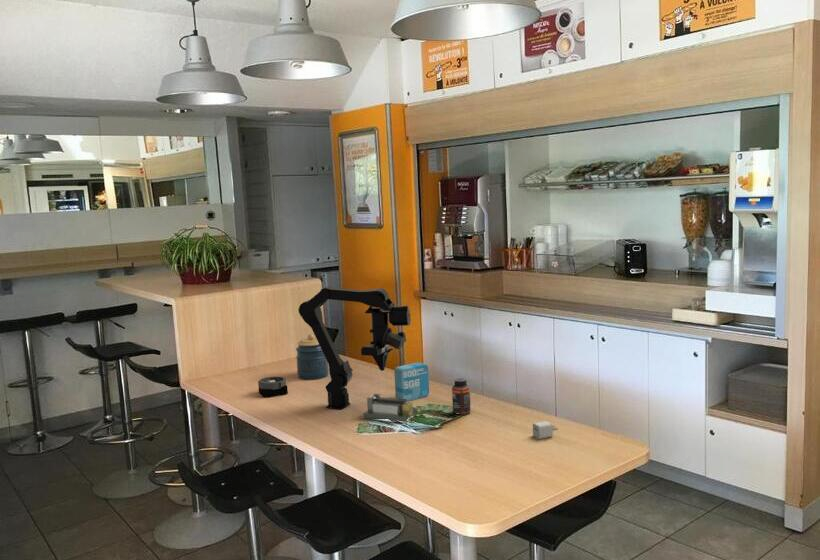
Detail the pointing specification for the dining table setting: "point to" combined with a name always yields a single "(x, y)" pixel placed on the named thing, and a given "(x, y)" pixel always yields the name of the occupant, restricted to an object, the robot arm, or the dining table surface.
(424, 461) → the dining table surface
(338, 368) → the robot arm
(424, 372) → the data package
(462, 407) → the supplement bottle
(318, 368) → the canister
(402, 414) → the heatsink
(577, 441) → the dining table surface
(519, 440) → the dining table surface
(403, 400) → the dark grey bar
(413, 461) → the dining table surface
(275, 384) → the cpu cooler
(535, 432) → the usb wall charger
